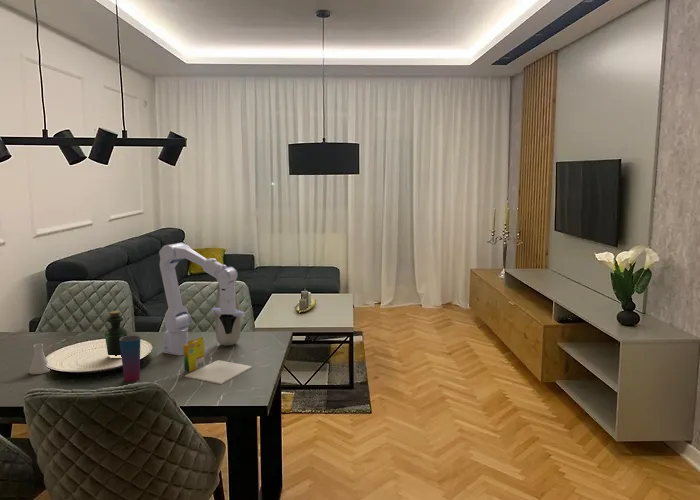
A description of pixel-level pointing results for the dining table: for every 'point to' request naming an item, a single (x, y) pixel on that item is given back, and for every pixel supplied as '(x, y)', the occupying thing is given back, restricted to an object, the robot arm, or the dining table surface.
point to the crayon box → (194, 355)
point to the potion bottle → (114, 333)
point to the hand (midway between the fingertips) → (228, 333)
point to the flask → (38, 361)
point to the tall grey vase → (220, 331)
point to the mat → (218, 372)
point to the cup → (130, 357)
